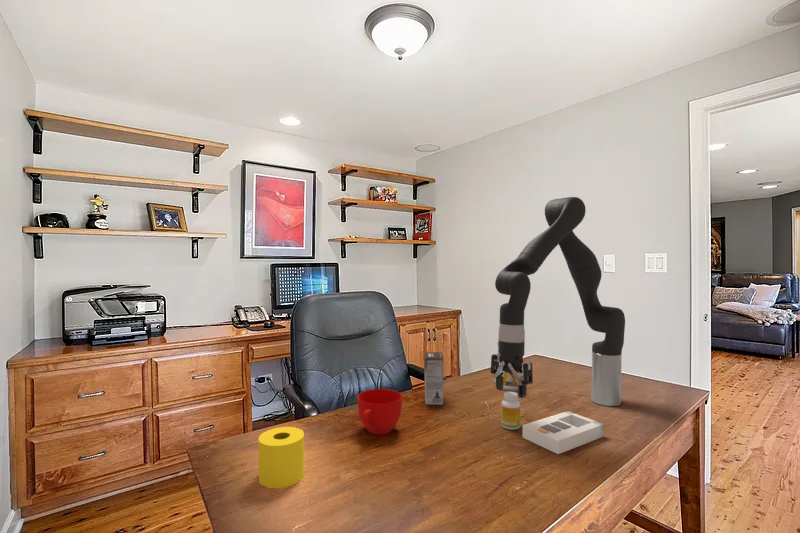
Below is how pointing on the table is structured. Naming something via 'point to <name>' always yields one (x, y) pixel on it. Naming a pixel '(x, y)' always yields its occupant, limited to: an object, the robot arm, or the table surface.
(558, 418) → the white bottle holder
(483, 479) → the table surface
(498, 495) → the table surface
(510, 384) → the yellow framed monitor
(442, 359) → the coffee box
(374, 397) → the ceramic cup
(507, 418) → the supplement bottle
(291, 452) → the yellow toilet paper roll
